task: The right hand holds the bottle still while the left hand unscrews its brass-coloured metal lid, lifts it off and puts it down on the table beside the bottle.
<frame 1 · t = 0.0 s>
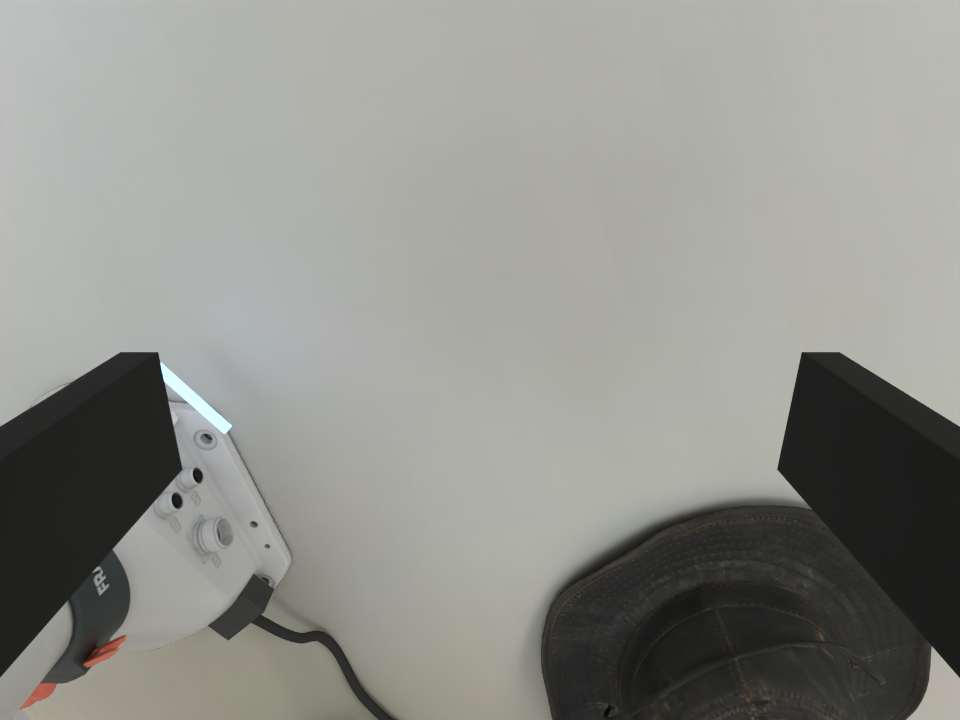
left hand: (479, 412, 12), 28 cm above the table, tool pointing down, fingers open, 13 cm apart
hat: (724, 665, 53), on the table
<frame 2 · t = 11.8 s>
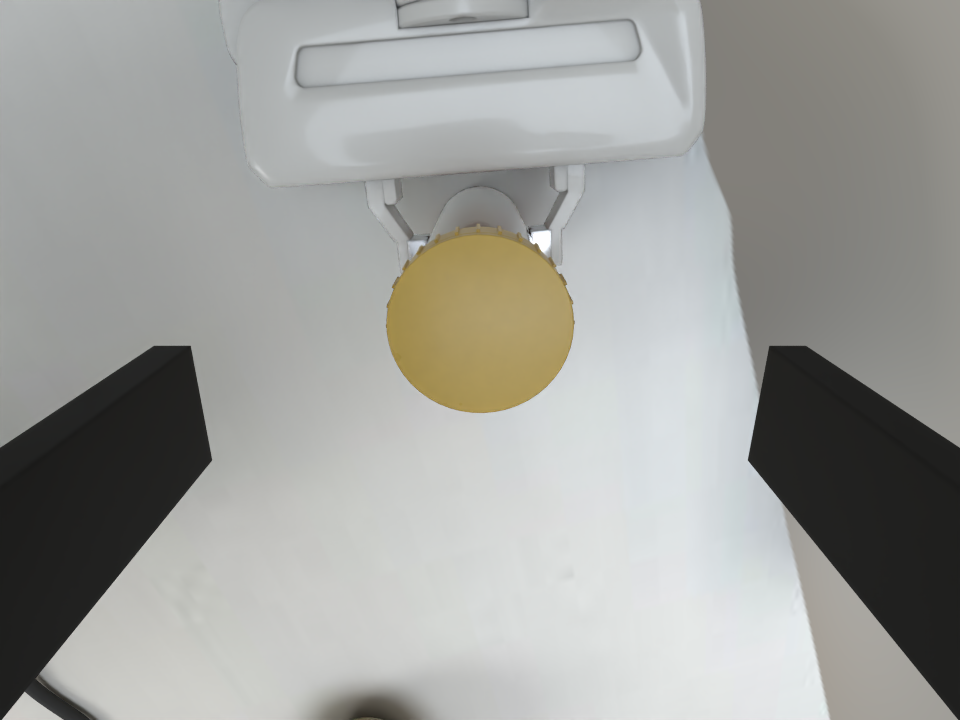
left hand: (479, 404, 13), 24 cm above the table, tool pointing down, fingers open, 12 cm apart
right hand: (482, 268, 29), fingers closed on bottle, 5 cm apart
bottle: (480, 230, 35), on the table, touching right hand
lid: (480, 325, 18), point 18 cm above the table, screwed on, not yet turned
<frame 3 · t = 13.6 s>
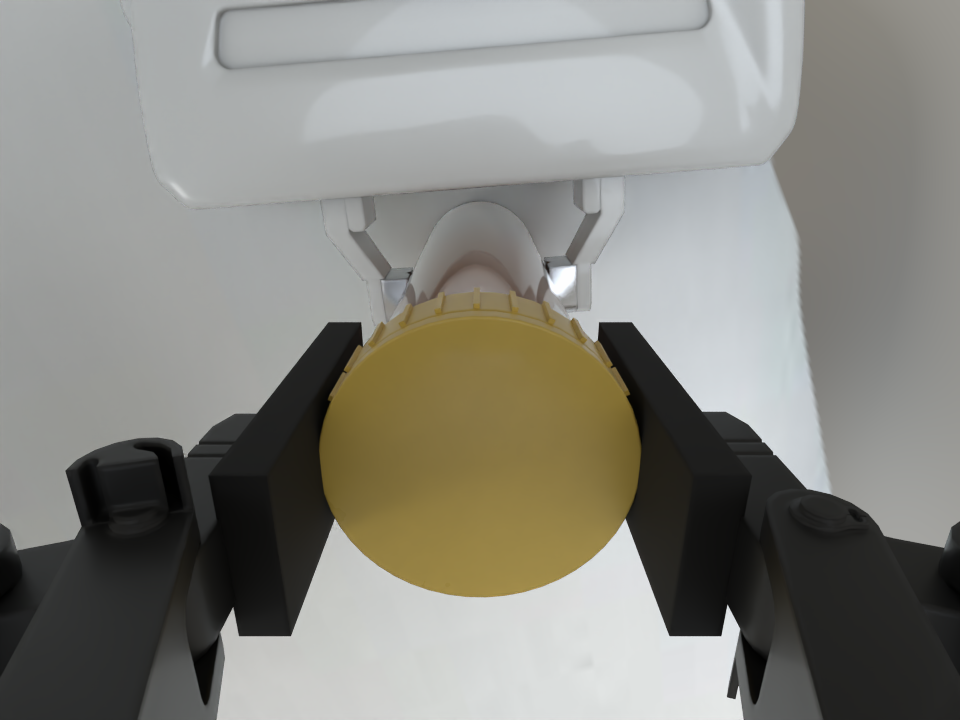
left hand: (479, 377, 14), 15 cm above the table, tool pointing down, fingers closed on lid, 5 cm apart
right hand: (483, 314, 22), fingers closed on bottle, 5 cm apart
bottle: (480, 256, 28), on the table, touching right hand
lid: (480, 460, 11), point 18 cm above the table, screwed on, not yet turned, touching left hand
when the left hand's fingers open (15 cm above the table, at t = 15.1 s): lid stays where it is, point 19 cm above the table.
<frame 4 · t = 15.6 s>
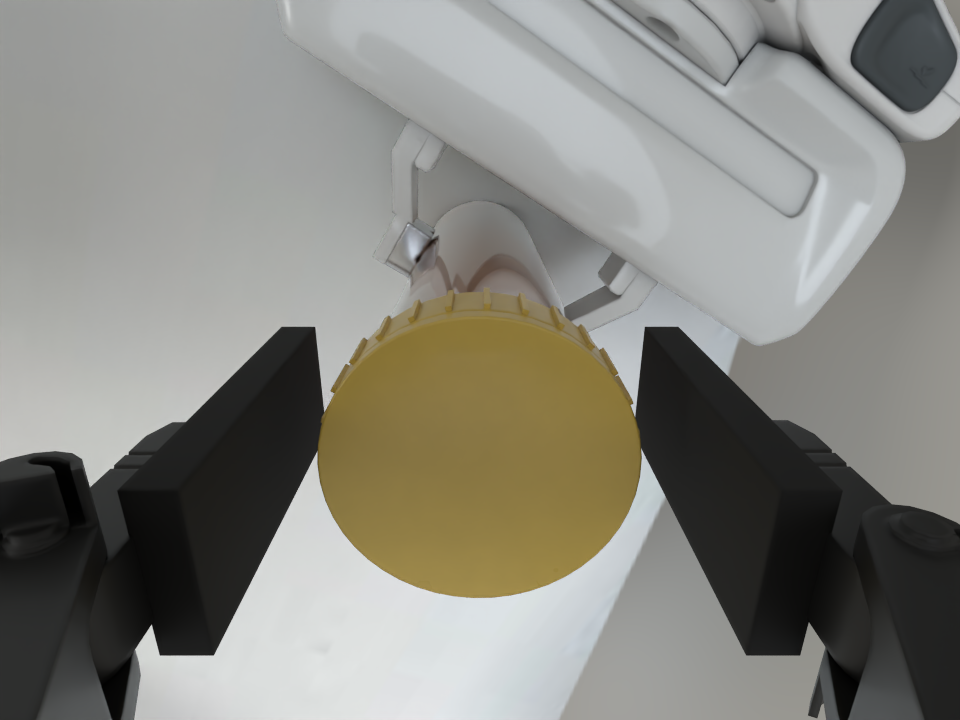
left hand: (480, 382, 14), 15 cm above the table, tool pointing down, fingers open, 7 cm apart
right hand: (468, 310, 22), fingers closed on bottle, 5 cm apart
bottle: (479, 255, 28), on the table, touching right hand
lid: (479, 461, 11), point 19 cm above the table, turned 84° so far, risen 0.2 cm, still on its thread
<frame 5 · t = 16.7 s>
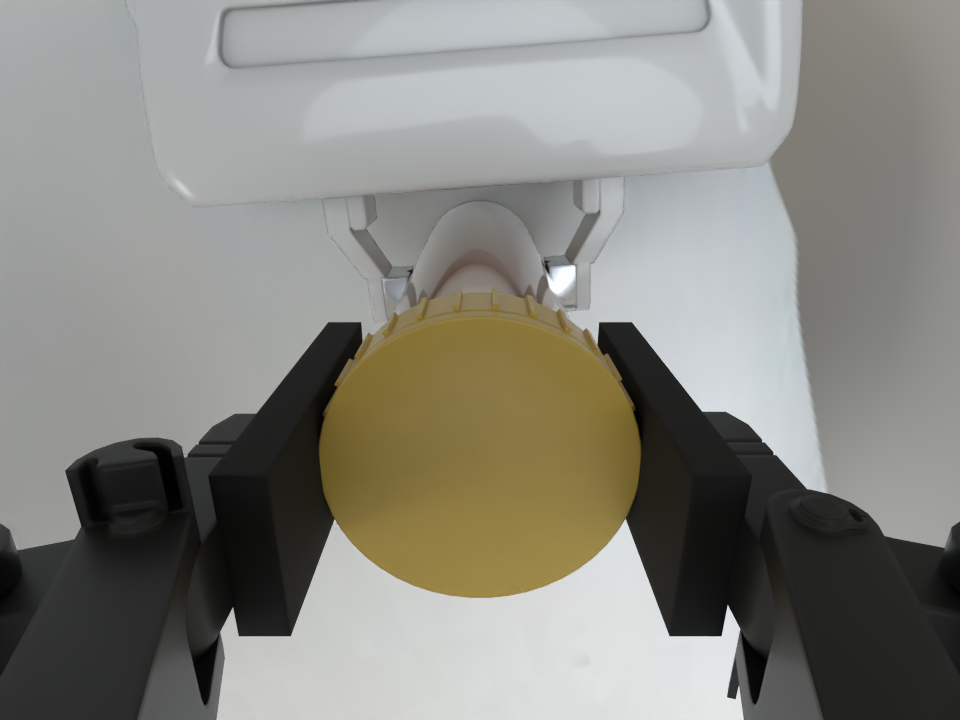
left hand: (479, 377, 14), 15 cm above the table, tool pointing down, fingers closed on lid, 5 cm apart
right hand: (482, 313, 22), fingers closed on bottle, 5 cm apart
bottle: (480, 255, 28), on the table, touching right hand
lid: (479, 461, 11), point 19 cm above the table, turned 84° so far, risen 0.2 cm, still on its thread, touching left hand
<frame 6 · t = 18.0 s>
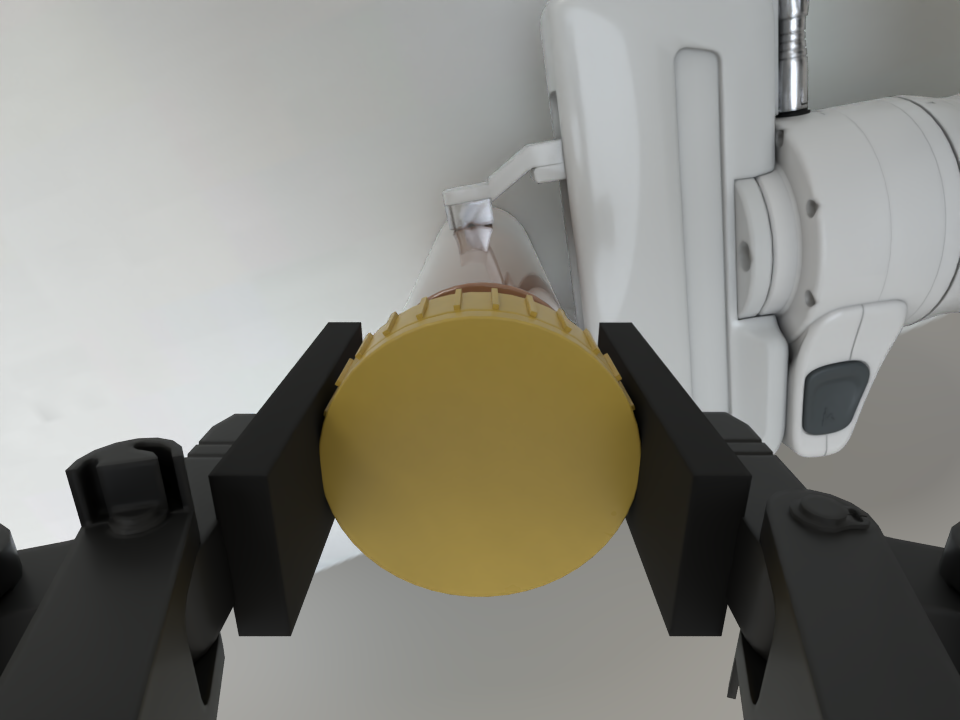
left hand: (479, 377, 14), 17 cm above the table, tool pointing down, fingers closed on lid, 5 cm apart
right hand: (461, 289, 24), fingers closed on bottle, 5 cm apart
bottle: (482, 255, 30), on the table, touching right hand
lid: (480, 460, 11), point 21 cm above the table, off its thread, touching left hand
when the left hand's fingers open (0 cm above the table, at t = 23.6 s): lid drops 3 cm, point 1 cm above the table.
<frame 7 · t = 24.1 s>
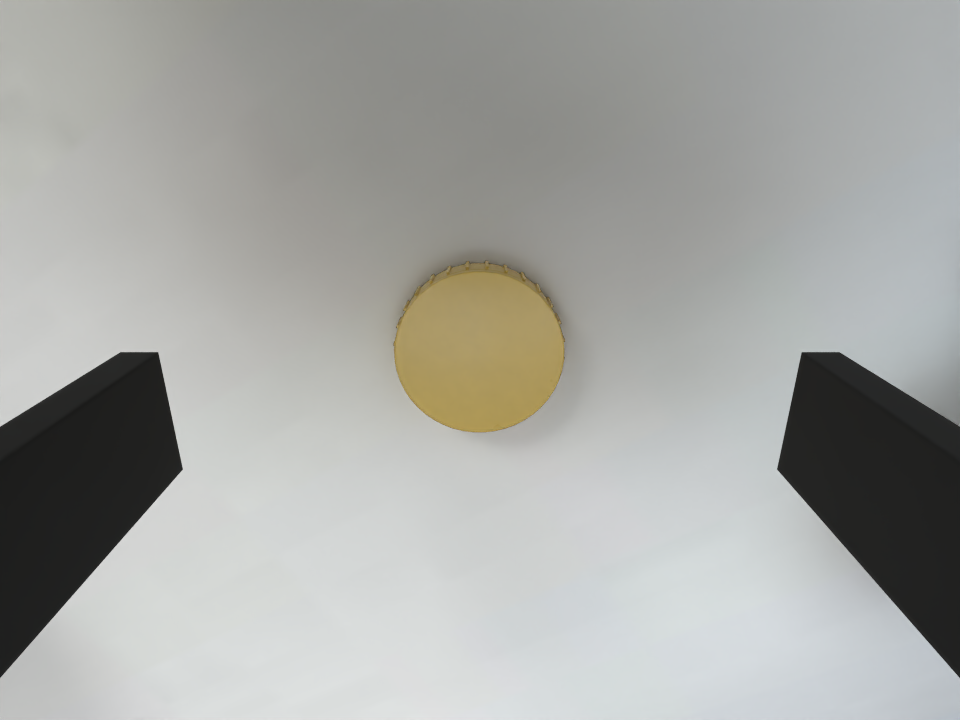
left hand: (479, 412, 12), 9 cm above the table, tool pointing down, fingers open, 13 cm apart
lid: (479, 352, 20), point 1 cm above the table, off its thread
when the right hand's fingers open (6 cm above the table, at t = 24.3 s): bottle stays where it is, on the table.
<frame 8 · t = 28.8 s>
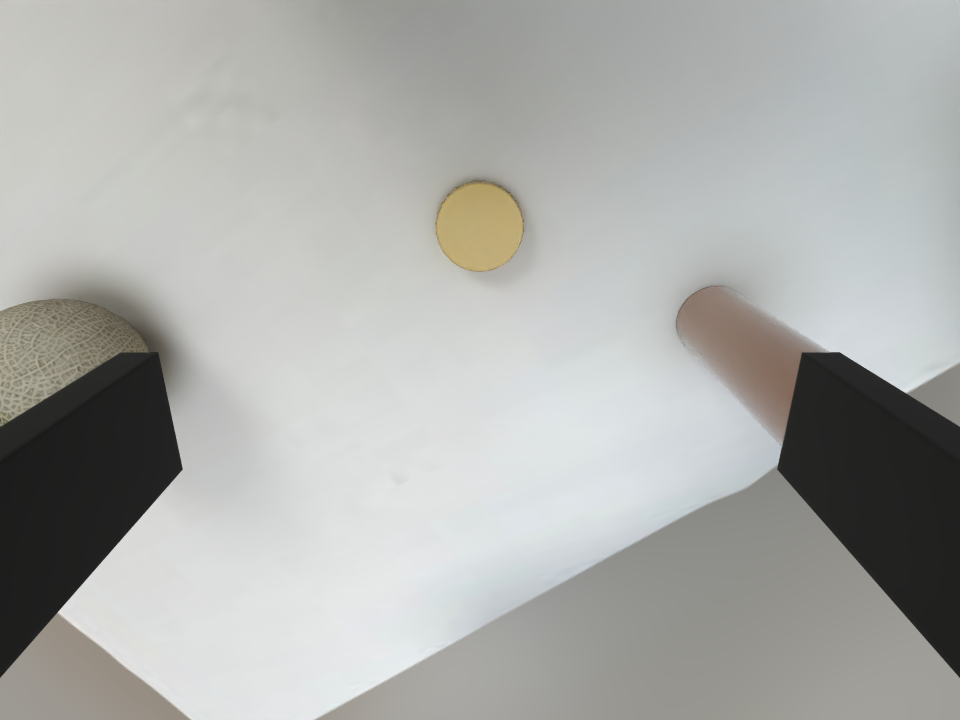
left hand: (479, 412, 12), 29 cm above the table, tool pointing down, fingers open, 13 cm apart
bottle: (711, 320, 42), on the table
lid: (479, 227, 38), point 1 cm above the table, off its thread
fruit: (104, 350, 43), on the table
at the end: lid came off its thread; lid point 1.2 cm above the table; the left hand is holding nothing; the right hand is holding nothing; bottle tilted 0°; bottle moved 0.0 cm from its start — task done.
